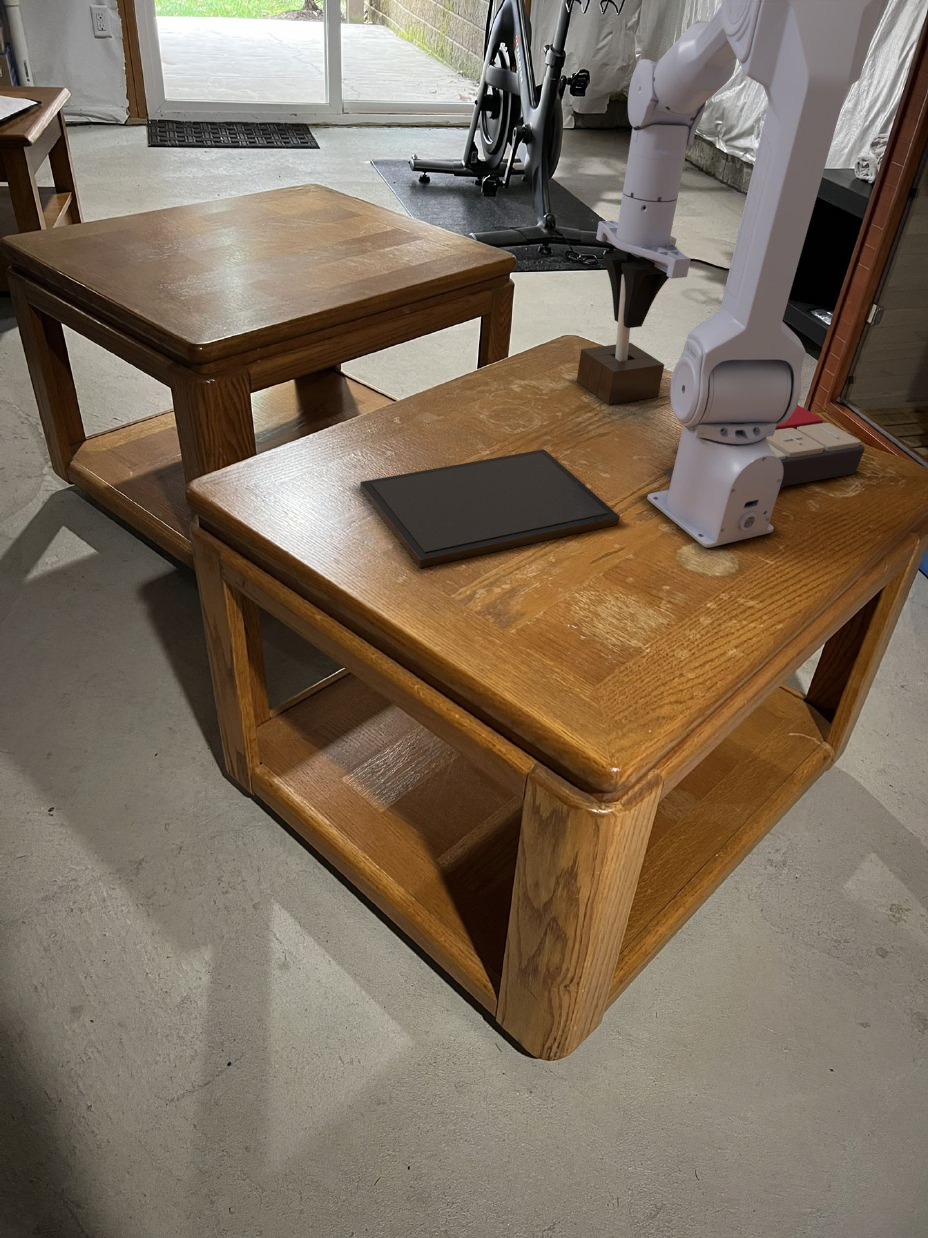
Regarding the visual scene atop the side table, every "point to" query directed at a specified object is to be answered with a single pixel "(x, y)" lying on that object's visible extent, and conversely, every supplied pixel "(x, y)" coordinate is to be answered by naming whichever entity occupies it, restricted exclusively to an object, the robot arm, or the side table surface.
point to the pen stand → (619, 374)
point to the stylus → (622, 328)
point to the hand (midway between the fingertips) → (628, 323)
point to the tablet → (485, 506)
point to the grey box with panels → (813, 449)
